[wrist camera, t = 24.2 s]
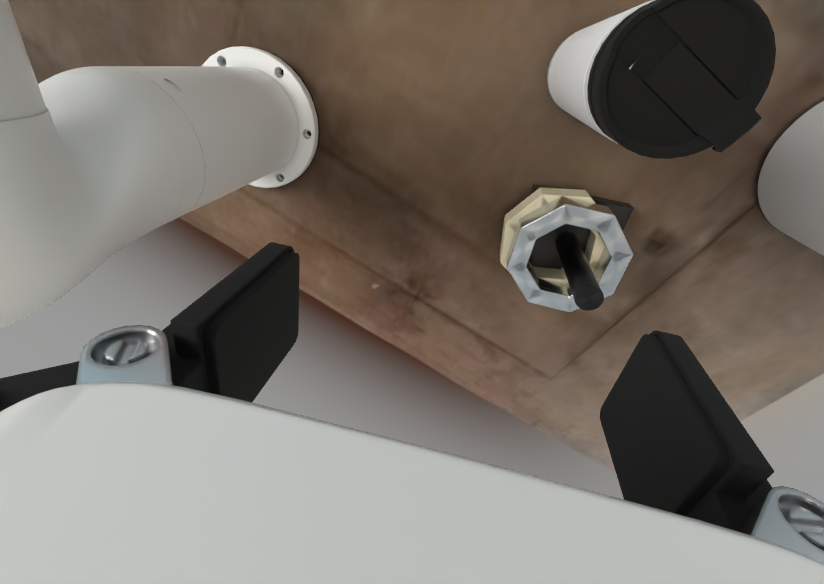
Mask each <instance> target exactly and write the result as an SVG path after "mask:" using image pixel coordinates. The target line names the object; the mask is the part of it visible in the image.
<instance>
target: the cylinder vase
mask: <svg viewBox="0 0 824 584" xmlns="http://www.w3.org/2000/svg"><path fill="white" fill-rule="evenodd" d="M758 200H759V204H760V207H761V210H762V212H763V214H764V215H765V217H766V218H767V220H768V221H769V222H770V223H771V224H772V225H773V226H774V227H775V228H777V229H778V230H779V231H781V232H783V233H784V234H786V235H788V236H790V237H791V238H793V239H795V240H796V241H798V242H800V243H802V244H803V245H805V246H807V247H809V248H810V249H812V250H814V251H815V252H817V253H819V254H821V255H822V256H824V101H822V102H821V103H819V104H817V105H816V106H814V107H813V108H811V109H810V110H809V111H807V112H806V113H805V114H803V115H802V116H801V117H800V118H798V119H797V120H796V121H795V122H794V123H793V124H792V125H791V126H790V127H789V128H788V129H787V130H786V131H785V132H784V133H783V134H782V135H781V136H780V138H779V139H778V140H777V141H776V143H775V144H774V146H773V147H772V149H771V150H770V152H769V154H768V155H767V157H766V159H765V161H764V164H763V166H762V169H761V172H760V176H759V181H758Z"/></svg>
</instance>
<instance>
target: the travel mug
mask: <svg viewBox="0 0 824 584" xmlns="http://www.w3.org/2000/svg"><path fill="white" fill-rule="evenodd" d="M775 54H776V46H775V37H774V32H773V29H772V26H771V24H770V21H769V18H768V17H767V15H766V14H765V12H764V11H763V10H762V8H761V7H760V6H759V4H757V3H756V2H755V1H754V0H651V1H649V2H646V3H644V4H641V5H639V6H637V7H634V8H632V9H629V10H627V11H625V12H622V13H620V14H617V15H615V16H613V17H610V18H608V19H605V20H603V21H601V22H598V23H596V24H593V25H591V26H589V27H586V28H584V29H581V30H579V31H577V32H575V33H573V34H572V35H571V36H569V37H568V38H567V39H566V40H565V41H564V42H563V43H562V44H561V45H560V46H559V47H558V49H557V50H556V51H555V53H554V55H553V57H552V59H551V61H550V65H549V68H548V74H547V85H548V90H549V93H550V95H551V97H552V99H553V101H554V102H555V103H556V104H557V106H559V107H560V108H561V109H563V110H564V111H566V112H567V113H569V114H570V115H572V116H573V117H575V118H577V119H578V120H580V121H581V122H583V123H584V124H586V125H588V126H589V127H591V128H592V129H594V130H595V131H597V132H599V133H600V134H602V135H603V136H605V137H606V138H608V139H610V140H611V141H613V142H615V143H618V144H620V145H622V146H623V147H625V148H626V149H628V150H630V151H632V152H635V153H637V154H639V155H642V156H647V157H651V158H669V159H671V158H677V157H683V156H688V155H691V154H694V153H697V152H700V151H702V150H704V149H707V148H709V147H711V146H714V147H713V148H712V149H713V150H714V151H717V152H722V151H723V150H725V149H726V148H728V147H729V146H730V145H732V144H733V143H734V142H735V141H737V140H738V139H739V138H741V137H742V136H743V135H744V134H745V133H746V132H748V131H749V130H750V129H751V128H752V127H753V126H754V125H755V124H756V123H757V122H758V121H759V120H760V119H761V116H760V115H759V114H758V113H757V112H756V111H755V110H754V109H755V108H756V106H757V105H758V103H759V102H760V100H761V99H762V97H763V95H764V93H765V91H766V89H767V87H768V85H769V82H770V79H771V76H772V73H773V69H774V63H775Z"/></svg>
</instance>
